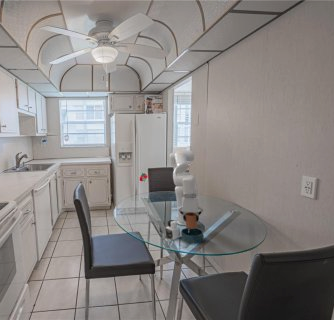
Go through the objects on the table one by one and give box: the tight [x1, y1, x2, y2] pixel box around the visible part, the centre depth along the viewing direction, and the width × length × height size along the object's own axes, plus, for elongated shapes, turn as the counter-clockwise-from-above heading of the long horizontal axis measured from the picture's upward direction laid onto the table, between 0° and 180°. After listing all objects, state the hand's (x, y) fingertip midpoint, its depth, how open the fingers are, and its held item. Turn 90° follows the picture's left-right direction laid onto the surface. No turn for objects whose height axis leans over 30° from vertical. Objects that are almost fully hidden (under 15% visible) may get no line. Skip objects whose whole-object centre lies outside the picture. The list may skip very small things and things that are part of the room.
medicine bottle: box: [165, 219, 181, 241], centre depth 151 cm, size 7×7×12 cm
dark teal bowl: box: [180, 227, 205, 244], centre depth 145 cm, size 14×14×6 cm
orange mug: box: [185, 212, 198, 229], centre depth 147 cm, size 11×7×9 cm
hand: (191, 220), depth 145 cm, fingers closed on orange mug, 7 cm apart
